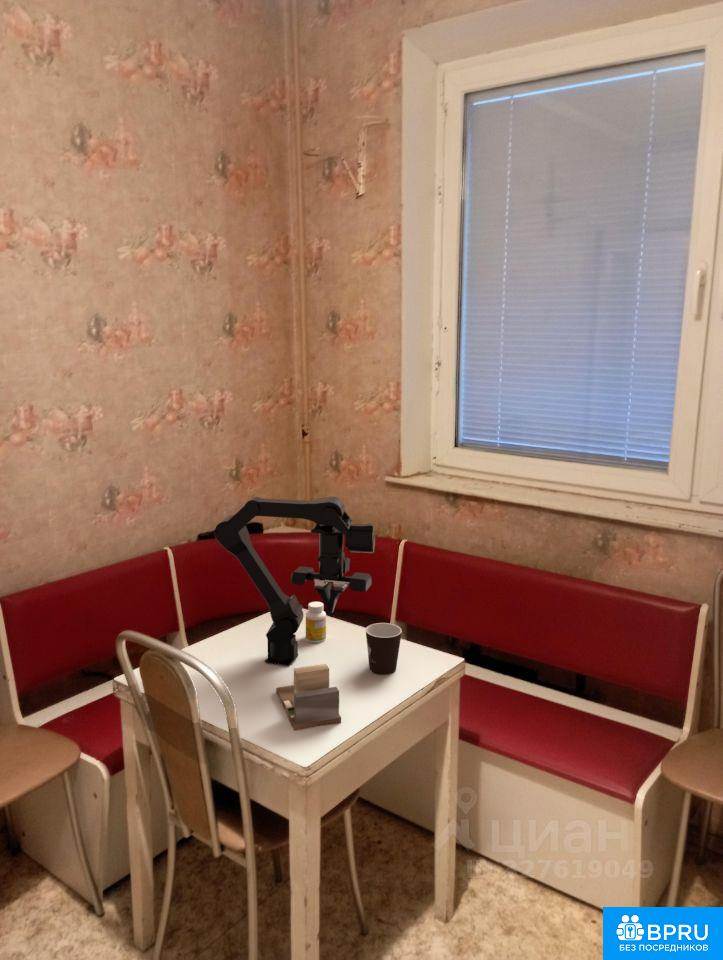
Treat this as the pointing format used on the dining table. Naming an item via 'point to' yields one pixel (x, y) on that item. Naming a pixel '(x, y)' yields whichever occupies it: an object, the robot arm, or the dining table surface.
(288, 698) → the gauge track
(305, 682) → the pad
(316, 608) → the supplement bottle
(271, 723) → the dining table surface
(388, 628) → the coffee mug
